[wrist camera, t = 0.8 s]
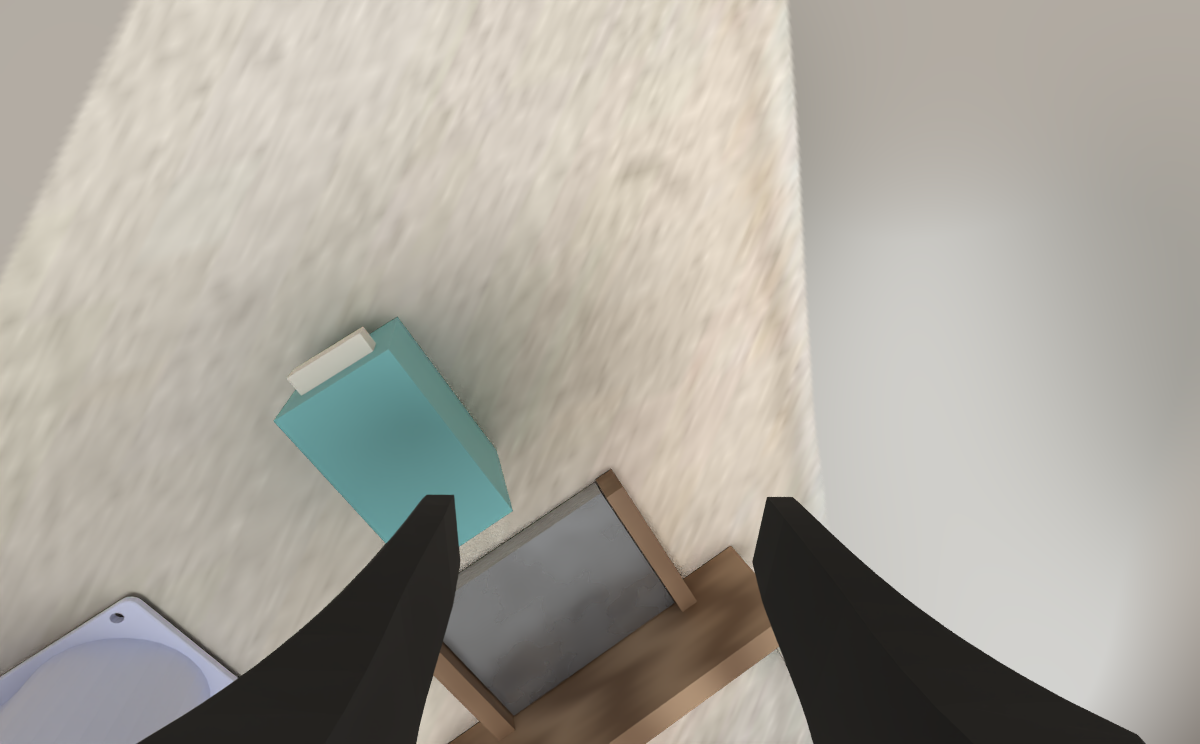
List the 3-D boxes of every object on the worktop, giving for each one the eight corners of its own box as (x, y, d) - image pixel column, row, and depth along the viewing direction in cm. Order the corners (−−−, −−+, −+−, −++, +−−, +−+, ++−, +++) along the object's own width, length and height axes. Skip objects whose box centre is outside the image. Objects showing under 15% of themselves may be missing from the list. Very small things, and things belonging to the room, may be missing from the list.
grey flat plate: (511, 698, 33) (514, 715, 31) (419, 600, 29) (418, 615, 28) (666, 589, 33) (674, 602, 32) (594, 482, 30) (601, 492, 29)
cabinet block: (418, 501, 28) (415, 575, 22) (295, 357, 24) (256, 402, 19) (496, 450, 28) (512, 510, 23) (386, 301, 25) (374, 330, 19)
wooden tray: (458, 761, 33) (464, 875, 27) (339, 651, 29) (318, 758, 23) (740, 562, 34) (799, 631, 29) (665, 432, 30) (717, 484, 25)
